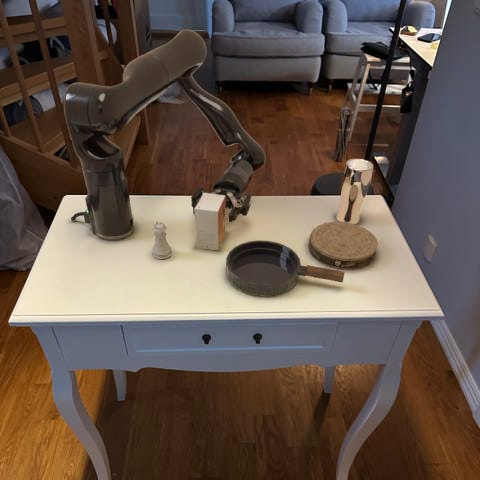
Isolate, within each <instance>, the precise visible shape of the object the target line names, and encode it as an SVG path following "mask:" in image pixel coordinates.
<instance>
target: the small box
mask: <svg viewBox="0 0 480 480" xmlns="http://www.w3.org/2000/svg"><path fill="white" fill-rule="evenodd" d="M226 209H227V208H226V196H225V195H217V194H210V193H203V195H202V197H201V199H200V200H199V202H198V204H197V206H196V207H195V209H194V211H195V216H194V230H195V247H196V249H202V250H211V251H219V250H220V247H221V246H222V244H223V241H224V238H225V236H226V211H227V210H226Z"/></svg>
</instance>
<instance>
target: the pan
mask: <svg viewBox="0 0 480 480" xmlns="http://www.w3.org/2000/svg"><path fill="white" fill-rule="evenodd" d="M301 265H302V264H301V258H300V257H299V255H298V254H297V253H296V252H295V251H294V250H293V249H292V248H290V247H288V246H287V245H285V244H282V243H279V242H276V241H270V240H259V239H257V240H250V241H249V240H248V241H246V242H242V243H240V244H238V245H236V246H234V247H232V249H231V250H229V252H228V253H227V255H226V261H225V274H226V277H227V280H228V281H229V282H230V283H231V285H232V286H233V287H235V288H237V289H238V290H240V291H242V292H244V293H247V294H249V295H255V296H265V297H267V296H268V297H269V296H275V295H280V294H284V293H286V292H288V291H289V290H291V289H293V288H294V287H295V286H296V284H297V283H298V282H299V278H300V275H298V274H299V270H300V267H301Z"/></svg>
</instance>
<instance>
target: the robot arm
mask: <svg viewBox="0 0 480 480" xmlns="http://www.w3.org/2000/svg"><path fill="white" fill-rule="evenodd" d="M207 56H208V47H207V44H206V42H205V40H204V39H203V37H202V36H201V35H200V34H199V33H198V32H196V31H195V30H191V29H182V30H180V31H179V32H178V33H177V34H176V35H175V36H174V37H173V38H172V39H171V40H169V42H167V43H164V44H162V45H160V46H158V47H156V48H154V49H151V50H150V51H148V52H146V53H144V54H141V55H140V56H138V57H135V58H134V59H132V60H131V61H129V62H128V63H127V65H125V67H124V70H123V72H122V77H121V79H122V80H121V81H122V82H120V83H117V84H116V85H110V86H107V85H99V84H93V83H88V82H80V81H79V82H77V81H76V82H73V83H71V84H69V85H68V87H67V88H66V89H65V91H64V95H63V112H64V117H65V122H66V125H67V128H68V133H69V135H70V139H71V142H72V147H73V150H74V153H75V155H76V157H77V158H78V159H79V162H80V165H81V170H82V174H83V179H84V182H85V187H86V192H87V195H86V196H85V197H84V200H85V201H84V202H85V205H86V210H84V211H80V212H79V211H78V212H76V213H74V214H73V215H72V216H71V217H70V218H71V219H70V220H71V221H76V219H77V218H78V217H81V216H82V217H83V219H84V223H85V224H88V225H90V227H91V232H92V234H95V235H96V236H97V237H98V238H100V239H102V240H107V241H119V240H123V239H125V238H128V237H130V236H131V235H132V234H133V233H134V232H135V229H136V228H135V221H134V218H135V217H134V216H133V211H132V204H131V198H130V197H131V196H130V192H129V186H128V185H129V183H128V178H127V172H126V164H125V159H124V153H123V150H122V148H121V147H120V146H119V145H117V144H116V143H114V142H113V141H111V140H110V139H109V138H108V137H111V136H113V135H117V134H118V133H119V132H120V131H122V130H123V129H124V128H125V126H127V125H128V124H129V123H130V121H131V120H132V119H133V118H134V117H135V116H136V115H137V114H139V112H141V111H142V110H143V109H144V108H146V107H148V106H149V105H150V104H151V103H153V102H154V101H156V100H158V99H159V98H160V97H162V96H163V95H164V94H165V93H167V92H168V91H169V90H170V89H171V88H172V86H174V84H177V85H178V87H180V89H181V90H182V91H183V92H184V94H185V95H186V96H187V97H188V99H189V100H190V101H191V102H192V103H193V104H194V105H195V106H196V107H197V108H198V110H199V111H200V112H201V113H202V115H203V116H204V117H205V119H206V120H207V122H208V123H209V124H210V126H211V127H212V129H213V131H214V133H215V134H216V135H217V138H218V139H219V140H220V142H221V143H222V144H223V146H224V147H231V146H233V145H236V144H238V145H240V146H241V147H242V148H241V149H240V150H238V151H237V152H235V153H234V154H233V155H232V156H231V158H230V159H229V161H228V166H227V168H226V169H225V170H224V171H223V172H222V173H221V175H220V176H219V178H218V179H217V180H216V182H215V183H214V185H213V188H212V189H211V190H209V191H205V190H204V188H203V187H199V188H198V189H197V190H196V191H195V192H194V193H193V194H192V195H191V197H190V200H191V207H192V214H193V215H194V217H195V211H194V209H195V207H196V206H197V204H198V202H199V200H200V199H201V197H202V195H203V193H210V194H217V195H225V196H226V209H228V211H229V214H228V223H230V224H232V223H233V222H236V220H237V218H238V217H239V216H240V215H242V217H246V216H248V214H249V211H250V208H251V206H252V195H250V194H249V195H246V196H245V197H243V196H244V195H245V193H246V191H247V189H248V186H249V184H250V182H251V180H252V178H253V176H254V172H256V171H257V170H258V169H260V168H261V167H263V166H264V165H265V164H266V162H267V153H266V152H265V149H264V148H263V147H262V146H261V144H260V143H258V141H256V140H255V139H254V138H253V137H252V135H250V134H249V133H248V132H247V131H246V130H245V128H244V127H243V126H242V124H241V122H240V121H239V120H238V117H237V116H236V114H235V113H234V111H233V110H232V109H231V108H230V106H229V105H228V104H227V103H225V102H224V101H223V100H222V99H219V98H218V97H216V96H214V95H213V94H211V93H209V92H208V91H206V90H204V89H203V88H202V87H201V86H200V85H199V84H198V82H197V81H196V80H195V78H194V76H193V75H194V74H195V72H197V70H199V69H200V67H201V66H202V65H204V63H205V61H206V59H207ZM240 204H242V206H241V205H240Z"/></svg>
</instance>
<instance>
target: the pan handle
mask: <svg viewBox="0 0 480 480" xmlns="http://www.w3.org/2000/svg"><path fill="white" fill-rule="evenodd" d="M345 273H346V272H345V271H343V270H338V269H337V270H336V269H331V268H325V267H320V266H314V265H309V264H306V265H302V264H301V267H300V270H299V274H298V275H299V277H300V276H301V277H310V278H315V279H322V280H327V281H331V282H337V283H343V282H344V278H345Z"/></svg>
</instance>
